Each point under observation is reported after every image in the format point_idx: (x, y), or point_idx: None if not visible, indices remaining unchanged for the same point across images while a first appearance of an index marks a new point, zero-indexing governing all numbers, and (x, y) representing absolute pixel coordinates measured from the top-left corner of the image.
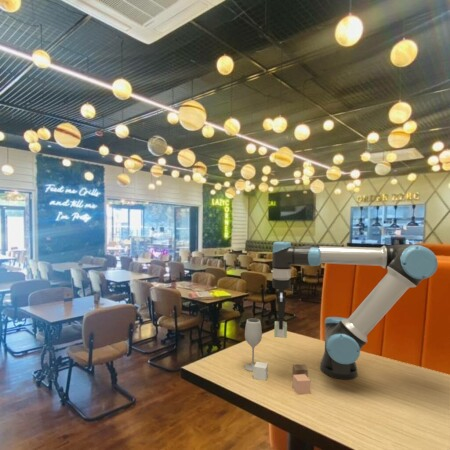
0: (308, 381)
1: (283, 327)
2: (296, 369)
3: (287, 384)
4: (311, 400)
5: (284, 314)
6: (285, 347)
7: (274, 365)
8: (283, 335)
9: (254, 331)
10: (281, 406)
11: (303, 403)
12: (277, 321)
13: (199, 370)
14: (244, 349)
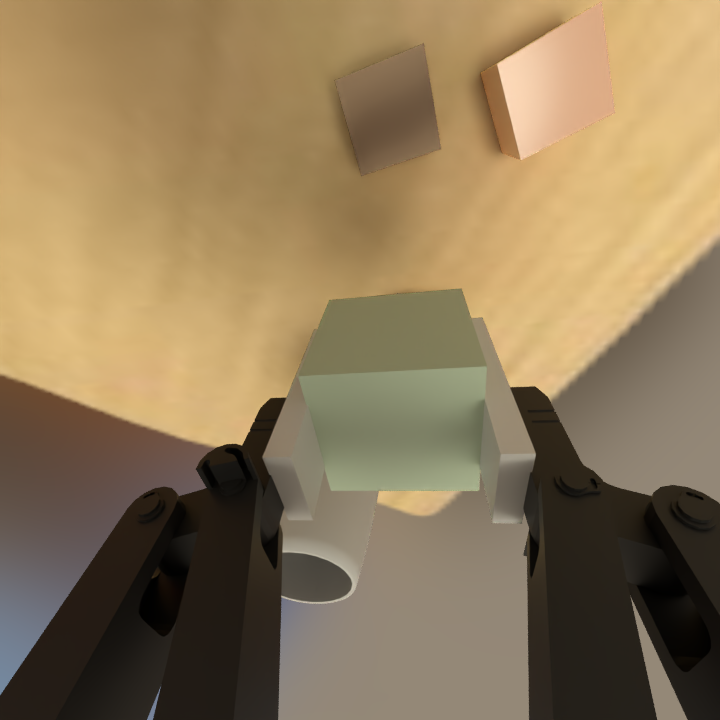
0: (601, 22)
1: (505, 391)
2: (434, 140)
3: (471, 186)
4: (652, 6)
5: (209, 479)
6: (34, 245)
7: (284, 276)
8: (485, 333)
9: (369, 507)
10: (700, 193)
11: (684, 64)
12: (329, 468)
13: (429, 495)
14: (194, 411)
